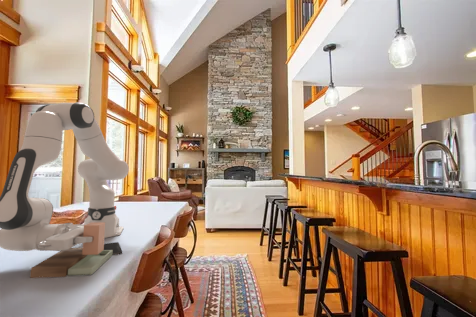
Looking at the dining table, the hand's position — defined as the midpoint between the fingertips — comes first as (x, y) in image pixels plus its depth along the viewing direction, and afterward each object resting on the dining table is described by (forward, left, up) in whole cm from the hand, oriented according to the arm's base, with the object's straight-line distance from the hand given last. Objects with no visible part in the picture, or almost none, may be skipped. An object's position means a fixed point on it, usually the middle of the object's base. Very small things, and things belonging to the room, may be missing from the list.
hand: (96, 236), depth 86 cm
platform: (0, -10, -10) cm, 14 cm away
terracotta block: (0, -1, -5) cm, 6 cm away
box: (0, -1, -10) cm, 10 cm away
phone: (-15, -1, -10) cm, 18 cm away
